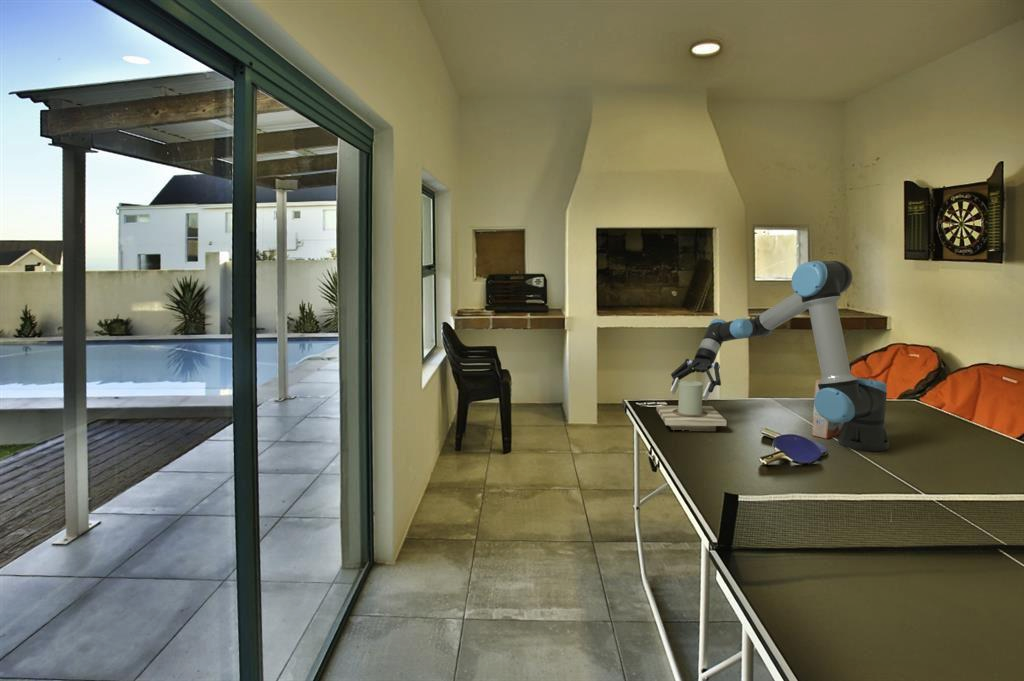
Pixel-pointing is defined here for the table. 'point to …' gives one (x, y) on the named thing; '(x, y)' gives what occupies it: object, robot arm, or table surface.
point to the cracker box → (824, 423)
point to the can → (690, 397)
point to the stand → (691, 419)
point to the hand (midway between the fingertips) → (687, 395)
